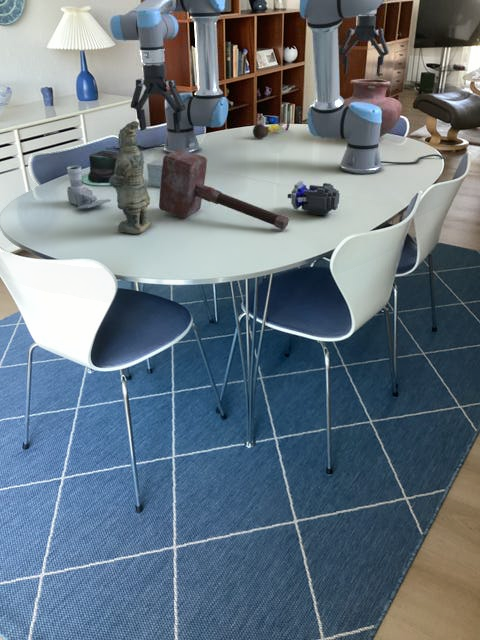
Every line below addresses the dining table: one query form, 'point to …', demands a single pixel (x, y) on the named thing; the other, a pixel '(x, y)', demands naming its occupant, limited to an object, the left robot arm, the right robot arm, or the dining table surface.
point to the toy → (315, 198)
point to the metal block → (155, 172)
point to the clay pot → (377, 101)
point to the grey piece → (80, 190)
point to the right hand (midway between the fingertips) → (361, 73)
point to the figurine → (267, 129)
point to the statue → (131, 182)
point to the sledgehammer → (200, 190)
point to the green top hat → (101, 168)
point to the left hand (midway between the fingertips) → (160, 131)
